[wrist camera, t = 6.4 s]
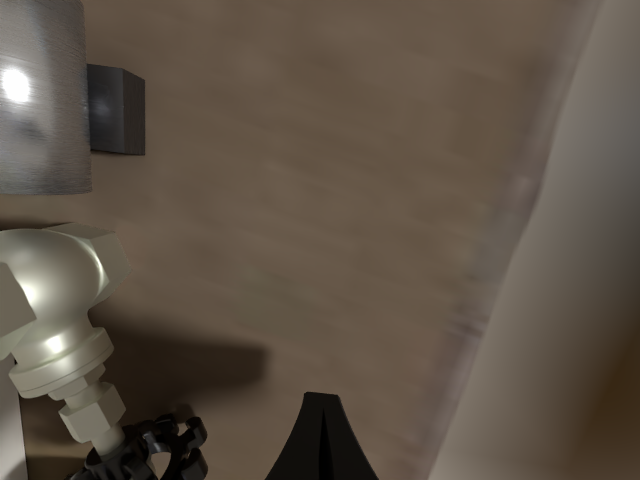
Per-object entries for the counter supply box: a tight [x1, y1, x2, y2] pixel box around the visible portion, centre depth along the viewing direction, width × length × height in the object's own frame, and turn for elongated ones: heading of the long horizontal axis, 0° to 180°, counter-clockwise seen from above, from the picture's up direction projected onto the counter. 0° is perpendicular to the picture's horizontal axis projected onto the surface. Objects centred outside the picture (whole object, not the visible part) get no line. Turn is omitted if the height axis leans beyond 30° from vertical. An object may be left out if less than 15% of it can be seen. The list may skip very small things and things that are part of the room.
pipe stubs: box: [0, 0, 145, 480], centre depth 12 cm, size 27×4×5 cm, turn 173°
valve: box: [0, 223, 208, 480], centre depth 12 cm, size 7×7×12 cm
